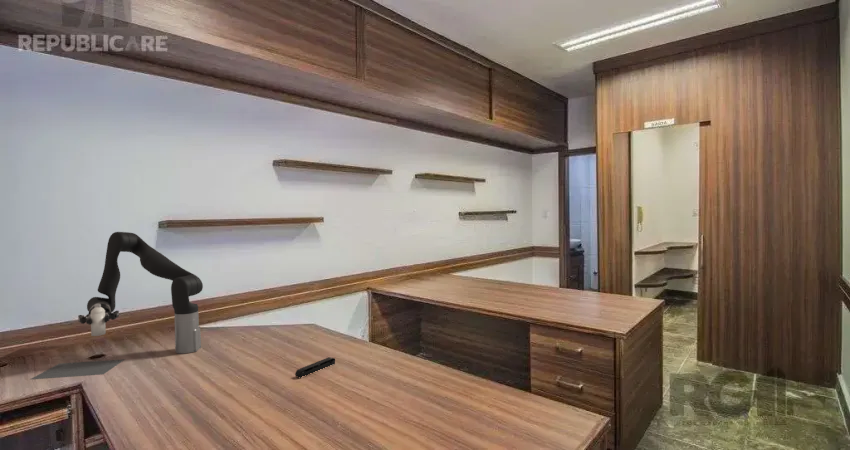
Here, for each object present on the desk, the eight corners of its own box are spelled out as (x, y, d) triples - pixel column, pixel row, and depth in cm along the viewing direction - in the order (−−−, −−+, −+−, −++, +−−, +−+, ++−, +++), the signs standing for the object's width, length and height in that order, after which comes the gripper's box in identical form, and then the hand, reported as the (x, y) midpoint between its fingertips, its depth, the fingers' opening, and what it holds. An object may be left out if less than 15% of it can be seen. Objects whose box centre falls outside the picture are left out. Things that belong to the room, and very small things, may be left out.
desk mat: (125, 360, 172) (125, 359, 172) (103, 375, 156) (103, 374, 156) (59, 364, 167) (59, 363, 167) (29, 380, 152) (29, 379, 152)
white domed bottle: (108, 332, 171) (107, 303, 171) (101, 335, 167) (100, 305, 166) (95, 332, 171) (94, 303, 170) (88, 336, 166) (87, 306, 166)
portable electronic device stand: (299, 379, 153) (299, 371, 153) (295, 378, 154) (295, 370, 154) (335, 364, 167) (335, 357, 167) (331, 363, 169) (331, 356, 169)
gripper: (78, 306, 176) (74, 314, 162) (119, 301, 184) (119, 309, 170) (78, 323, 176) (75, 333, 162) (120, 318, 184) (120, 327, 171)
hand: (97, 321), depth 166 cm, fingers closed on white domed bottle, 4 cm apart
